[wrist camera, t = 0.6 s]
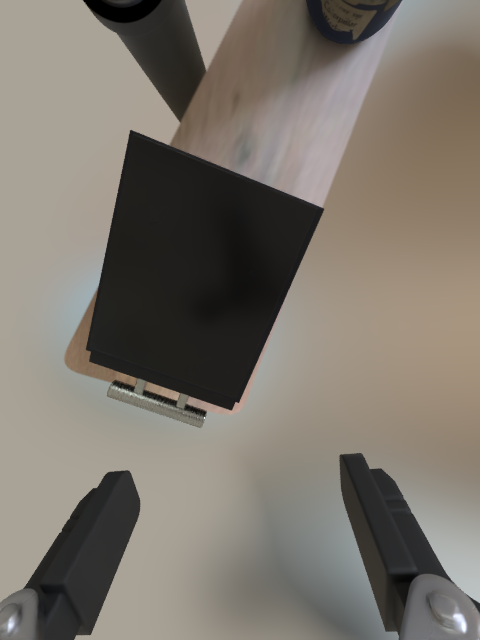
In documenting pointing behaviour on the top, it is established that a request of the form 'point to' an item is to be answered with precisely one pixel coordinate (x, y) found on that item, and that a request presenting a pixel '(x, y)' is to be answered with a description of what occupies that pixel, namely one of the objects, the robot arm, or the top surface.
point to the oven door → (155, 401)
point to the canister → (351, 18)
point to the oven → (195, 268)
